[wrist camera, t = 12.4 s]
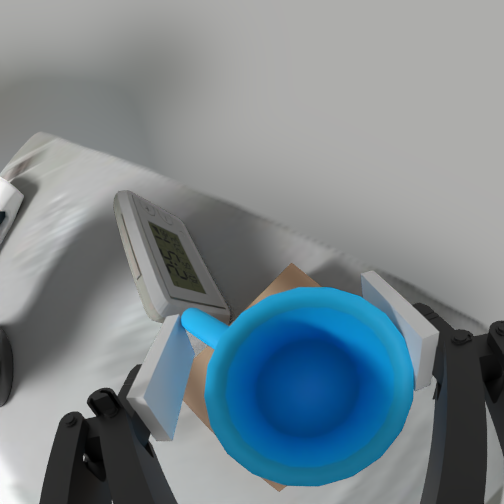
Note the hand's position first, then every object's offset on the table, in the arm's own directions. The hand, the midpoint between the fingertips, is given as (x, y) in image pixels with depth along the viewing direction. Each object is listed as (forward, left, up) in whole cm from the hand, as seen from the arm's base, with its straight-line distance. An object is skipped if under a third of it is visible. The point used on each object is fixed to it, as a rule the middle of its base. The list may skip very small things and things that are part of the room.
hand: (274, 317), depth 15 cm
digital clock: (-2, +14, -15) cm, 21 cm away
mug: (-2, -2, -4) cm, 5 cm away
